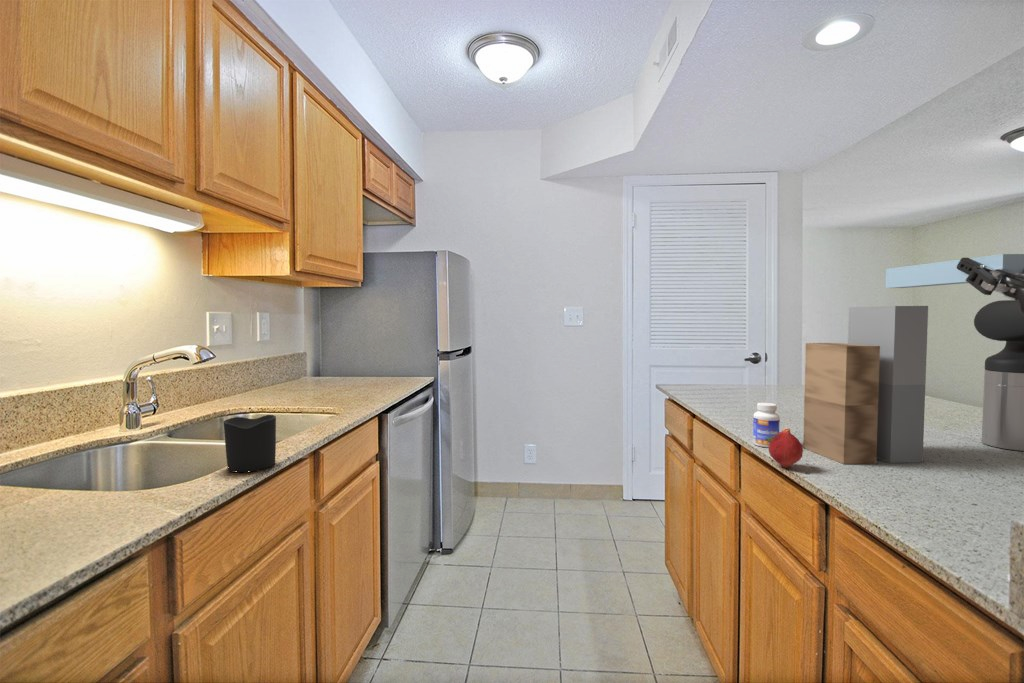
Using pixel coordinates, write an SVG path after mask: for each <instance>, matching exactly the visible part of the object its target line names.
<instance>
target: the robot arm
mask: <svg viewBox="0 0 1024 683" xmlns="http://www.w3.org/2000/svg"><path fill="white" fill-rule="evenodd" d="M970 258H971V257H961V258H960V259H959V260H960V262H959V263H958V265H957V269H958V270H960V271H962V272H964V273H966V274H968V275H969V276H968V277H967V279H966V281H967V282H968V283H967V284H969V285H971V286H972V287H974V289H976V290H977V291H978V292H980V293H981V294H983V295H984V296H991V295H992V294H993V293H994V292H996V293H999V294H1001V295H1003V296H1004V297H1005V298H1007V299H1005V300H995V301H992V302H989V303H987V304H986V305H984V306H983V307H981V308H979V310H978V311H977V312H976V313H975V316H974V318H973V325H974V328H975V330H976V331H977V332H978V333H979V334H980V335H981V336H983V337H985V338H987V339H990V340H991V341H992V340H993V341H997V342H1005V346H1004V347H1003V349H1002V350H1000V351H999V352H997V353H995V354H993V355H991V356H988V357H986V359H985V361H984V372H983V373H984V377H983V379H984V380H983V382H984V383H983V399H982V400H983V401H982V419H981V420H982V421H981V422H982V425H981V443H983V444H984V445H987V446H991V447H994V448H1000V449H1007V450H1011V451H1021V452H1024V274H1019V273H1016V272H1013V271H1010V270H1007V269H1002V268H1001V269H994V268H992V267H989V266H987V265H983V264H981V263H979V262H977V261H974V260H972V259H970ZM988 272H990V273H992V275H991V274H990V273H988ZM1022 273H1024V269H1023V271H1022ZM1002 274H1004V275H1005V276H1004V277H1003V278H1002V279H1001V281H1000V279H999V277H1000V276H1001V275H1002ZM1009 299H1010V300H1009Z"/></svg>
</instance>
